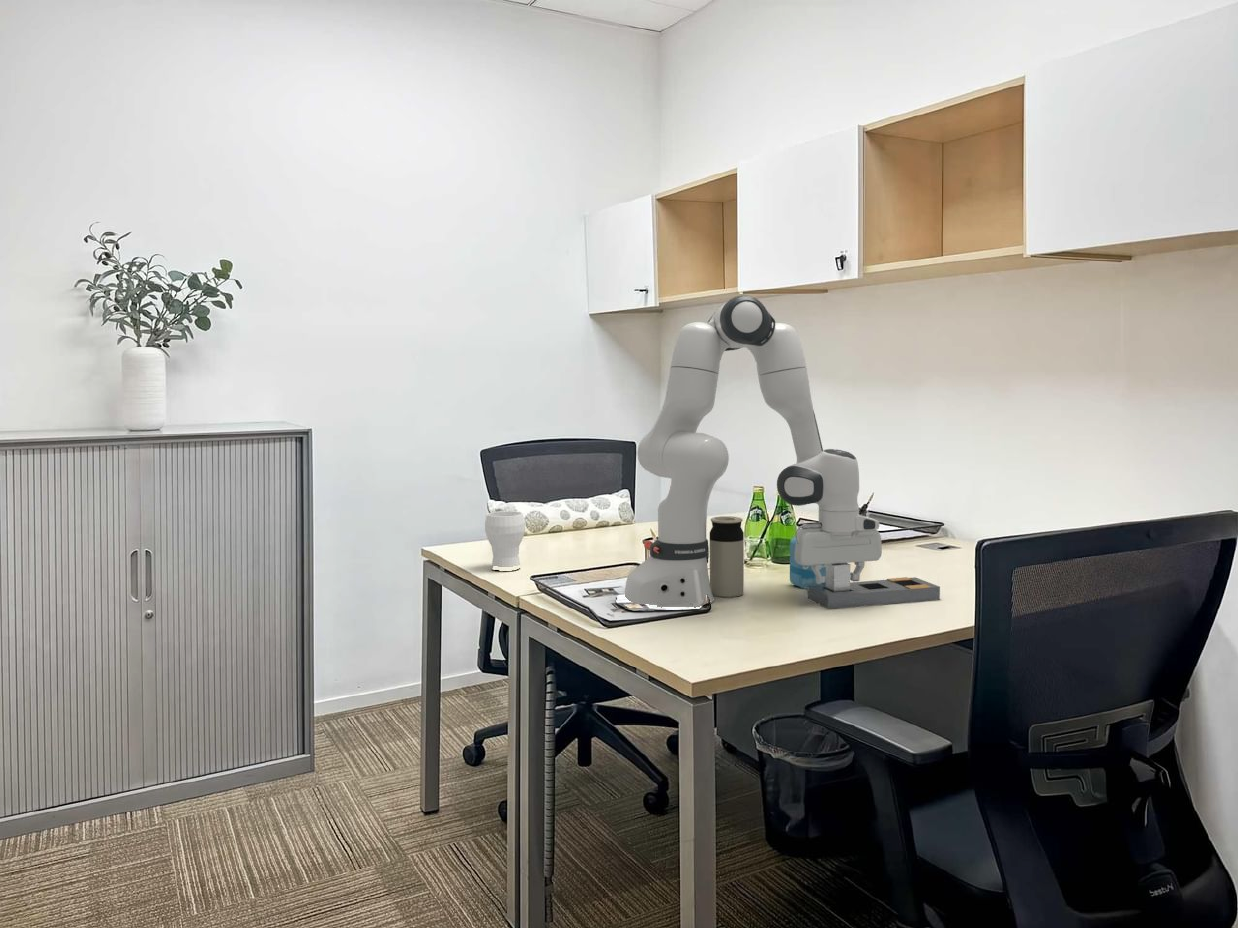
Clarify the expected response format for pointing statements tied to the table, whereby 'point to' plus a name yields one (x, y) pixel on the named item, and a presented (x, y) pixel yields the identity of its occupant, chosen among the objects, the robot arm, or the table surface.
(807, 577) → the data package
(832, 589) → the steel peg
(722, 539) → the travel mug
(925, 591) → the hole rail
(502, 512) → the cup
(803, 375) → the robot arm
